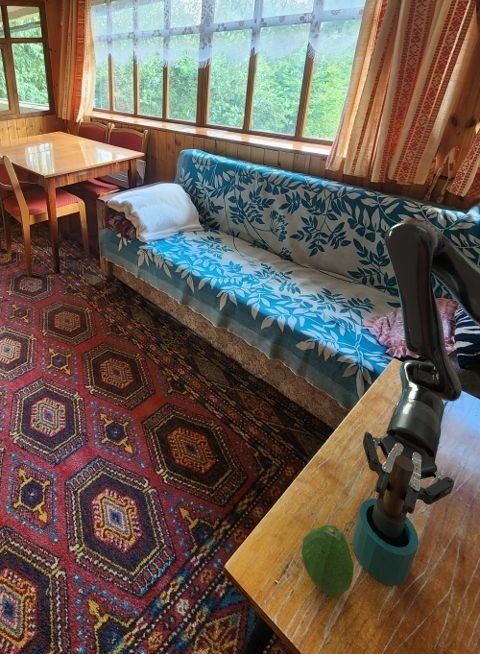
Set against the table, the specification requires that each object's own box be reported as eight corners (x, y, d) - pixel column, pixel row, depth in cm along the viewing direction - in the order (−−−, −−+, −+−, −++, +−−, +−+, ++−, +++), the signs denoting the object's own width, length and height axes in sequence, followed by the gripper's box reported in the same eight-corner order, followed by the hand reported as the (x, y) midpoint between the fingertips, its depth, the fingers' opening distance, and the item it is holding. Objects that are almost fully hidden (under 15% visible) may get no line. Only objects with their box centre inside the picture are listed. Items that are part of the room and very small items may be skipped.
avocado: (353, 572, 66) (363, 531, 62) (343, 620, 61) (353, 578, 57) (306, 539, 72) (312, 498, 67) (293, 580, 66) (299, 539, 62)
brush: (394, 511, 67) (413, 451, 62) (406, 540, 63) (427, 478, 58) (367, 507, 68) (383, 447, 62) (378, 535, 64) (396, 474, 58)
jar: (394, 532, 71) (403, 502, 68) (418, 591, 64) (429, 560, 61) (345, 524, 73) (352, 494, 70) (363, 579, 65) (371, 549, 62)
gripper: (375, 395, 75) (348, 458, 64) (467, 440, 65) (454, 523, 54) (369, 422, 77) (342, 486, 66) (456, 468, 68) (442, 553, 57)
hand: (393, 502), depth 60 cm, fingers closed on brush, 2 cm apart
